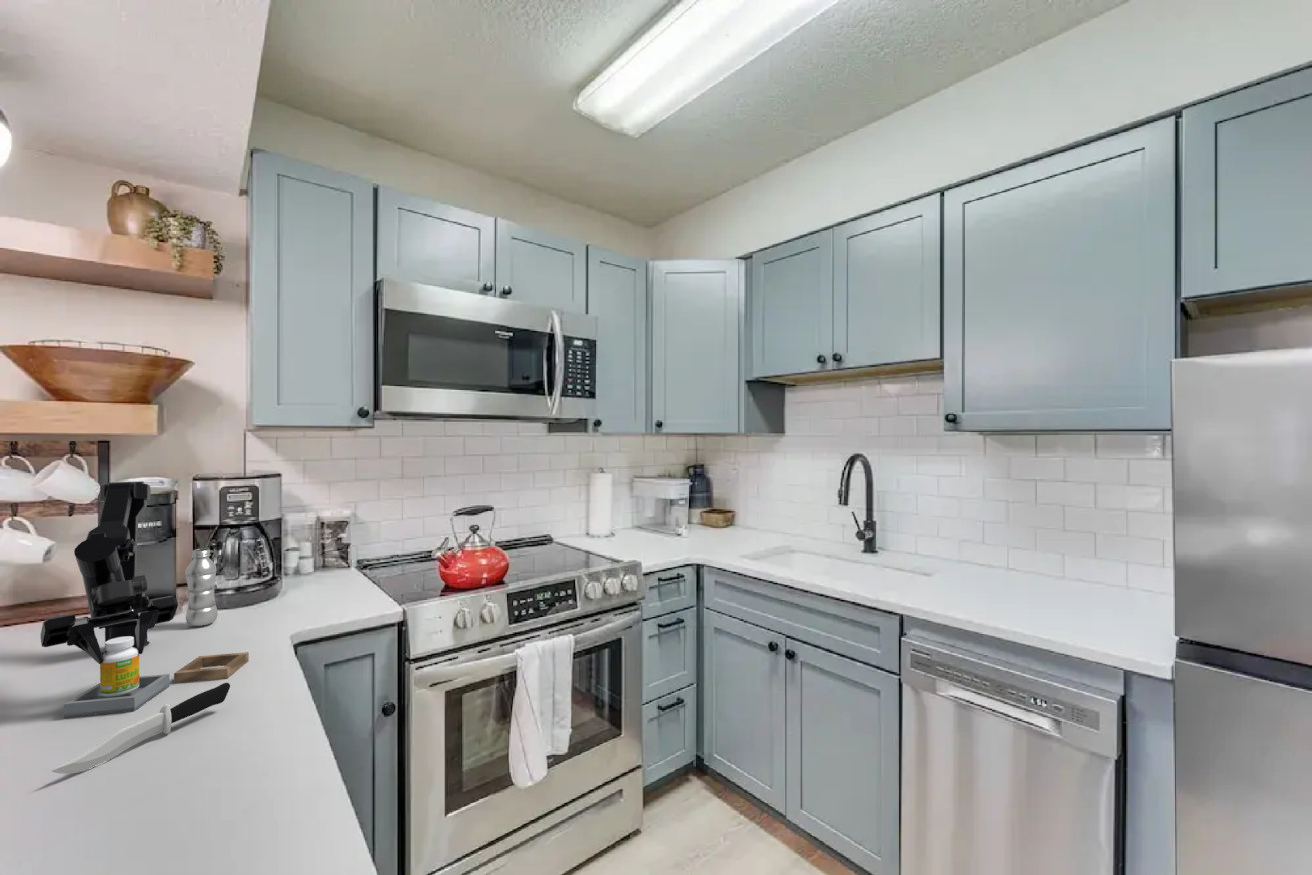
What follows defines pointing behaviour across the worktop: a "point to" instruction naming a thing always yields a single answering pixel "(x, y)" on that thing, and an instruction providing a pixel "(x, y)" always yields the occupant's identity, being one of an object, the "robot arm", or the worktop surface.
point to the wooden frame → (197, 674)
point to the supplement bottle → (119, 667)
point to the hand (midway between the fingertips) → (121, 657)
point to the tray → (116, 698)
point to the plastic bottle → (201, 589)
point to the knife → (144, 730)
